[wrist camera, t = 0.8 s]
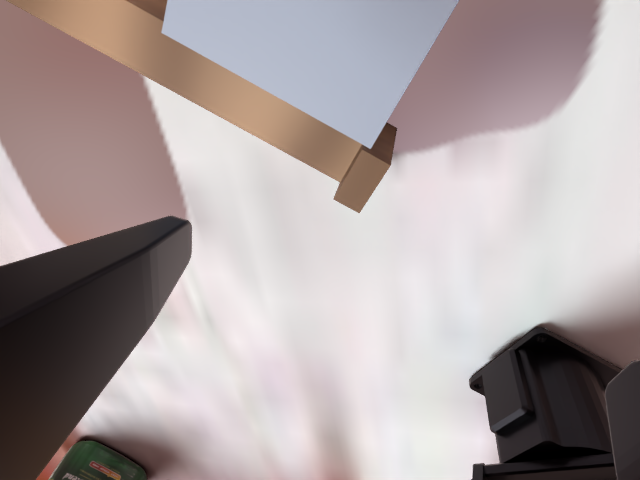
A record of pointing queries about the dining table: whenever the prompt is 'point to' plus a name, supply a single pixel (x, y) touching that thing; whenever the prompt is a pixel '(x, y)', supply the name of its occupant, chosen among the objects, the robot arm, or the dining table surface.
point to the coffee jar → (96, 464)
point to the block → (317, 51)
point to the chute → (219, 89)
